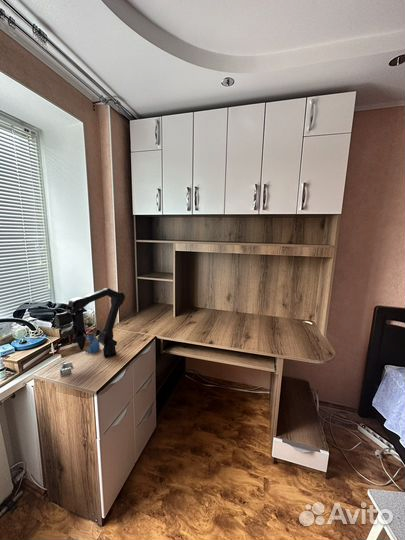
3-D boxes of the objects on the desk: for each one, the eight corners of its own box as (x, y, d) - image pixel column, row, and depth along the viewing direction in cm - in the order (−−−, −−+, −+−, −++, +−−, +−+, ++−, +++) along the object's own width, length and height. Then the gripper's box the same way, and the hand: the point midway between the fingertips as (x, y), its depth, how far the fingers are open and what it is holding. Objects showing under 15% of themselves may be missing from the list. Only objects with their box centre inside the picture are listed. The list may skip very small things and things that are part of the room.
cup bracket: (72, 366, 127) (72, 361, 127) (71, 373, 120) (70, 367, 120) (62, 368, 125) (61, 363, 125) (60, 376, 118) (59, 370, 118)
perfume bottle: (85, 351, 144) (83, 334, 142) (94, 347, 149) (92, 330, 148) (91, 354, 141) (88, 335, 139) (100, 349, 146) (97, 332, 144)
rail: (90, 346, 128) (88, 339, 127) (90, 349, 125) (88, 341, 124) (62, 355, 122) (60, 347, 122) (61, 358, 119) (59, 350, 118)
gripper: (63, 319, 127) (66, 345, 129) (58, 330, 111) (63, 360, 113) (85, 315, 132) (88, 340, 134) (84, 325, 115) (88, 353, 117)
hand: (82, 348), depth 124 cm, fingers closed on rail, 4 cm apart
